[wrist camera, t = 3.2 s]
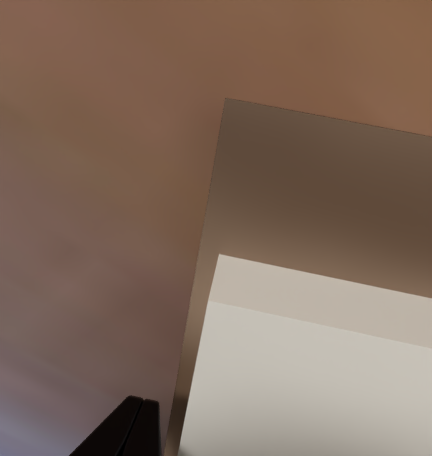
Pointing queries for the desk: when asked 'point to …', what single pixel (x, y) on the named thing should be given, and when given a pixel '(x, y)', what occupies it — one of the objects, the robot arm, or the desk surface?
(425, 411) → the white flat block
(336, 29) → the desk surface
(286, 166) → the brown long block
